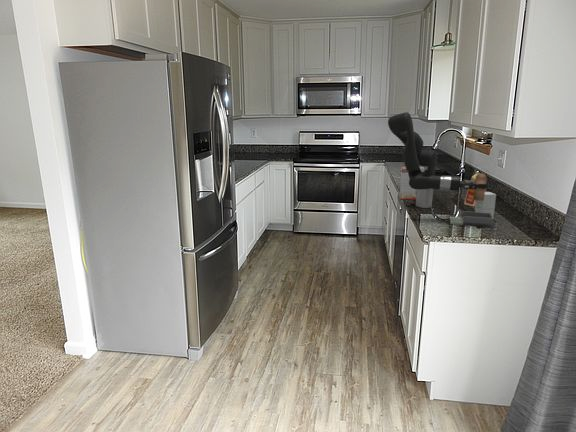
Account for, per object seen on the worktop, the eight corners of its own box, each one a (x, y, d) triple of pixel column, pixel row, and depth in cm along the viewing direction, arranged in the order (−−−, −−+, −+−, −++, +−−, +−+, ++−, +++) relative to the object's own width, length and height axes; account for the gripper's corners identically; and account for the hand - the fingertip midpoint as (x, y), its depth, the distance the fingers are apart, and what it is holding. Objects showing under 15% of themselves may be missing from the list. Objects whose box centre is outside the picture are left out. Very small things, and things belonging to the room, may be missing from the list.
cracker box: (420, 198, 271) (423, 166, 266) (422, 200, 265) (425, 167, 260) (398, 197, 272) (400, 166, 267) (400, 199, 267) (402, 167, 261)
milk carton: (464, 203, 255) (467, 171, 250) (475, 202, 258) (479, 170, 253) (475, 207, 247) (479, 173, 242) (487, 205, 250) (491, 173, 245)
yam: (472, 198, 211) (475, 172, 208) (483, 199, 210) (486, 172, 206) (473, 200, 207) (476, 173, 203) (484, 201, 205) (487, 174, 202)
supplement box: (487, 213, 231) (489, 191, 228) (493, 217, 224) (496, 194, 220) (474, 213, 231) (476, 191, 227) (480, 217, 223) (483, 194, 220)
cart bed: (449, 218, 221) (450, 210, 220) (490, 221, 215) (491, 213, 213) (450, 224, 210) (451, 215, 209) (493, 227, 204) (494, 218, 202)
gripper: (450, 178, 203) (488, 180, 198) (450, 174, 217) (485, 176, 211) (449, 193, 205) (486, 195, 200) (448, 188, 218) (483, 190, 213)
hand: (485, 185), depth 205 cm, fingers closed on yam, 5 cm apart
